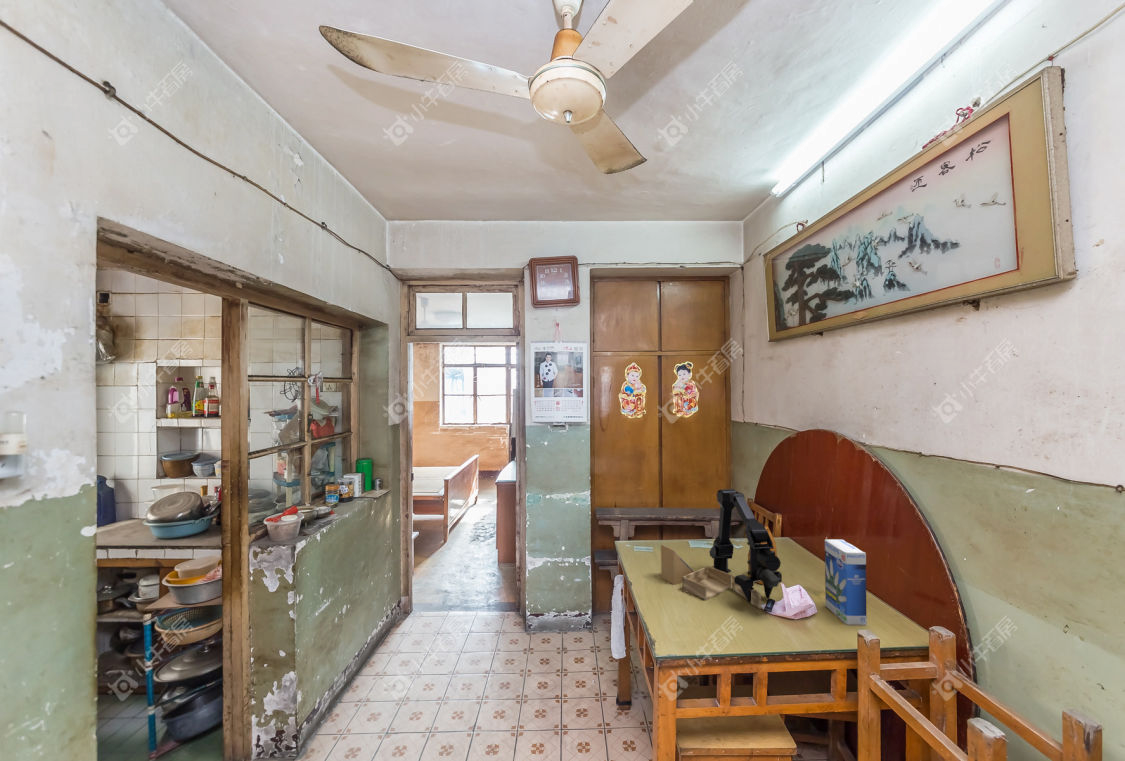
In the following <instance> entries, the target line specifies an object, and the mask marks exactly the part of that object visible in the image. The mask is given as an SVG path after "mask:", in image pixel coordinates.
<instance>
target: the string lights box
mask: <svg viewBox="0 0 1125 761" xmlns="http://www.w3.org/2000/svg"><path fill="white" fill-rule="evenodd" d="M824 570H825V571H824V576H825V578H824V579H825V581H824V582H825V584H824V585H825V587H824V588H825V607H827V609H828V610H830V611H831V612H832V614H834V615H835V616H836V617H837V618H839V619H840V620H841V621H842V622H843V623H844V624H845V625H849V626H851V625H852V626H867V622H868V621H867V553H866V552H865V551H863V550H861V549H859V548H858V547H856V546H855V545H853V544H851V543H849V542H847V541H846V540H844V539H829V538H828V539H827V538H826V539H824Z"/></svg>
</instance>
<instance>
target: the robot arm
mask: <svg viewBox="0 0 1125 761" xmlns="http://www.w3.org/2000/svg"><path fill="white" fill-rule="evenodd" d="M716 500H717V503H718V504H719V507H720V509H719V512H720V513H719V522H718V535H717V537H716V538H715V539H714V541H713V545H712V546H711V548H710V550H709V556H710V557H711V558H712V559H713V568H715V569H718V570H720V571H723V572H725V573H728V574H729V573H730V572H732V570H731V569H730V568H729V560H730V559H731V560H733V555H734V547H735V546H734V544H733V543H732V541H731V539H730V538H731V537H730V536H731V528H732V527H731V525H732V517H733V516H732V515H733V509H734V508H735V509H736V511H737V513H738V516H739V517H740V518H741V521H742V523H743V524H744V533H745V537H746V540H747V542H746V545H747V546H749V549H750V561H748V560H747V561H746V562H747V565H748V564H750V571H748V570H747V575H745V574H738V575H734V576H735V578H734V579H735V583H736V584H737V585H739V586H740V587H741V589H742V590H743V592H744V594H745V597H746V599H745V600H747V603H749V604H752V603H751V591H752V590H753V589H754V590H755V588H754V583H757V582H756V581H762V582H763V585H762V586H763V589H764V595H765V598H766V599H770V597H771V594H772V591H773V588H775V587H778V585H779V583H782V582H783V581H782V580H783V575H782V572H781V571H779V569H780V568H781V560H780V558H779V557H778V555H777V556H775V552H774V551H771V550H770V549H774V547H773V542H772V540H771V538H770V536H769V534H768V532H767V530H766V529H765V527H766V526H765V525H763V523H761V521H760V522H759V521H758V520H757V519H756V517H755V515H754V513H753V512H752V510H751V507H750V506H749V505H748V503H747V501H746V499H745V495H744V493H743V492H741V491H736V490H735V489H734V488H729V489H728V488H726V489H725V488H723V489H722V488H721V489H719V490H717V493H716ZM766 542H767V544H759V543H766ZM776 570H777V571H776ZM748 574H749V575H750V576H751V577H748Z"/></svg>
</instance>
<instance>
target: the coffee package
mask: <svg viewBox="0 0 1125 761" xmlns="http://www.w3.org/2000/svg"><path fill="white" fill-rule="evenodd" d="M764 527H765V529H766V530H767V532H768V534H769V536H770V538H771V540H772V542H773V547H774V549H770V550H771V551H774V552H775V556H777V557H778V551H777V544H776V541H775V540H776V539H775V538H774V536H773V534H772V532H771V530H770V528H769V526H764ZM759 544H767V542H766V543H759ZM747 561H750V548H749V549H748V553H747ZM747 566H748V567H747V568H748V569H747V572H748V571H750V564H748V563H747ZM776 571H778V570H776ZM747 577H751V576H750V575H749V574H748V573H747ZM755 583H757V584H759V585H762V586H764V585H763V582H762V581H756V582H755Z"/></svg>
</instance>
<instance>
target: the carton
mask: <svg viewBox="0 0 1125 761" xmlns="http://www.w3.org/2000/svg"><path fill="white" fill-rule="evenodd" d="M681 584H682V590H683V592H686V593H688V594H691V595H693V596H695V597H696V598H700V599H702V600H703V601H707V600H709V599H711V598H713V597H715V596H718V595H719V594H721V593H723V592H725V591H728V590H729V589H732V574H730V573H729V572H728V573H725V572H723V571H720V570H718V569H715V568H714V567H712V566H709V565H707V566H704V567H702V568H700V569H698V570H695V571H694V572H693V573H690V574H688V575H686V576H683V577H682V583H681Z"/></svg>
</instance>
